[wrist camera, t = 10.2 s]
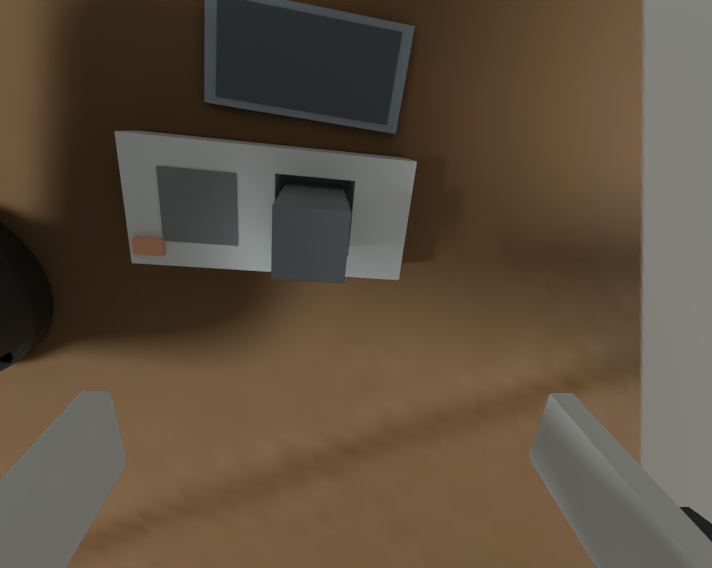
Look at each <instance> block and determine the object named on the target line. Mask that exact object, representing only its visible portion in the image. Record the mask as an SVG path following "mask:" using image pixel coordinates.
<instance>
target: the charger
mask: <svg viewBox="0 0 712 568" xmlns="http://www.w3.org/2000/svg"><path fill="white" fill-rule="evenodd" d="M350 220H351V210H350V207H349V204H348V201H347V198H346V195H345V192H344V189H343V186H342V185H333V184H322V183H311V182H300V181H289V180H288V181H287V183H286V184H285V186H284V187H283V189H282V191H281V192H280V194H279V195H278V197H277V198H276V200H275V202H274V203H273V205H272V248H271V279H279V280H295V281H312V282H328V283H344V282H345V272H346V261H347V251H348V241H349V230H350Z"/></svg>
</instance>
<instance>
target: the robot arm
mask: <svg viewBox="0 0 712 568" xmlns="http://www.w3.org/2000/svg"><path fill="white" fill-rule="evenodd" d="M51 318H52V297H51V292H50V288H49V285H48V282H47V280H46V277H45V275H44V273H43V271H42V269H41V267H40V266H39V264H38V263H37V261H36V260H35V258H34V257H33V255H32V254H31V253H30V252H29V250H28V249H27V248H26V247H25V246H24V245H23V244H22V243H21V242H20V241H19V240H18V239H17V238H16V237H15V236H14V235H13V234H12V233H11V232H9V231H8V230H7V229H6V228H4V227H3V226H2V225H0V371H2V370H4V369H6V368H8V367H9V366H11V365H13V364H14V363H16V362H17V361H18V360H19V359H21V358H22V357H23V356H25V355H26V354H27V353H29V352H30V351H31V350H33V349H34V348H35V347H36V346H37V345H38V344H39V343H40V342H41V341H42V339H43V338H44V336H45V335H46V333H47V331H48V328H49V326H50V323H51ZM529 460H530V461H531V463H532V464H533V466H534V468H535V469H536V471H537V473H538V474H539V476H540V477H541V479H542V481H543V482H544V484H545V485H546V487H547V489H548V490H549V492H550V493H551V495H552V497H553V498H554V500H555V502H556V503H557V505H558V506H559V508H560V510H561V511H562V513H563V514H564V516H565V518H566V519H567V521H568V522H569V524H570V526H571V527H572V529H573V531H574V532H575V534H576V535H577V537H578V539H579V540H580V542H581V543H582V545H583V547H584V548H585V550H586V551H587V553H588V555H589V556H590V558H591V560H592V561H593V563H594V564H595V566H596V568H712V524H711V523H710V522H709V521H707V520H706V519H704V518H703V517H702V516H700V515H699V514H698V513H696V512H695V511H693V510H692V509H691V508H689V507H678V505H677V504H676V503H675V502H674V501H673V500H672V499H671V498H670V497H669V496H668V495H667V494H666V493H665V492H664V491H663V489H662V488H661V487H660V486H659V485H658V484H657V483H656V482H655V481H654V480H653V479H652V478H651V477H650V476H649V474H648V473H647V472H646V471H645V470H644V469H643V468H642V467H641V466H640V465H639V464H638V463H637V462H636V461H635V460H634V458H633V457H632V456H631V455H630V454H629V453H628V452H627V451H626V450H625V449H624V448H623V447H622V446H621V445H620V444H619V442H618V441H617V440H616V439H615V438H614V437H613V436H612V435H611V434H610V433H609V432H608V431H607V430H606V429H605V427H604V426H603V425H602V424H601V423H600V422H599V421H598V420H597V419H596V418H595V417H594V416H593V415H592V414H591V413H590V411H589V410H588V409H587V408H586V407H585V406H584V405H583V404H582V403H581V402H580V401H579V400H578V399H577V398H576V397H575V395H574V394H573V393H550V394H549V397H548V400H547V403H546V406H545V409H544V413H543V416H542V419H541V422H540V425H539V428H538V431H537V434H536V437H535V440H534V443H533V446H532V449H531V452H530V455H529ZM125 465H126V460H125V456H124V451H123V447H122V442H121V437H120V433H119V428H118V424H117V419H116V414H115V410H114V405H113V401H112V396H111V392H110V391H81V392H80V393H79V394H78V395H77V396H76V398H75V399H74V400H73V401H72V402H71V403H70V404H69V405H68V406H67V407H66V408H65V410H64V411H63V412H62V413H61V414H60V415H59V416H58V417H57V418H56V419H55V420H54V422H53V423H52V424H51V425H50V426H49V427H48V428H47V429H46V430H45V431H44V433H43V434H42V435H41V436H40V437H39V438H38V439H37V440H36V441H35V442H34V443H33V445H32V446H31V447H30V448H29V449H28V450H27V451H26V452H25V453H24V454H23V456H22V457H21V458H20V459H19V460H18V461H17V462H16V463H15V464H14V465H13V466H12V468H11V469H10V470H9V471H8V472H7V473H6V474H5V475H4V476H3V477H2V478H1V480H0V568H66V566H67V565H68V563H69V561H70V559H71V558H72V556H73V554H74V553H75V551H76V549H77V547H78V546H79V544H80V542H81V541H82V539H83V537H84V535H85V534H86V532H87V530H88V529H89V527H90V525H91V523H92V522H93V520H94V518H95V517H96V515H97V513H98V511H99V510H100V508H101V506H102V505H103V503H104V501H105V500H106V498H107V496H108V494H109V493H110V491H111V489H112V488H113V486H114V484H115V482H116V481H117V479H118V477H119V476H120V474H121V472H122V470H123V469H124V467H125Z"/></svg>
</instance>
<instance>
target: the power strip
mask: <svg viewBox="0 0 712 568" xmlns="http://www.w3.org/2000/svg"><path fill="white" fill-rule="evenodd" d="M114 133H115V140H116V148H117V155H118V163H119V170H120V178H121V186H122V193H123V201H124V208H125V216H126V224H127V231H128V239H129V246H130V254H131V262H132V263H139V264H155V265H171V266H186V267H202V268H218V269H234V270H249V271H265V272H271V248H272V205H273V203H274V202H275V200H276V198H277V197H278V195H279V194H280V192H281V191H282V189H283V187H284V186H285V184H286V183H287V181H288V180H289V181H300V182H311V183H322V184H333V185H342V186H343V189H344V192H345V195H346V198H347V201H348V204H349V207H350V210H351V220H350V230H349V241H348V251H347V261H346V272H345V277H359V278H375V279H391V280H399V275H400V268H401V262H402V255H403V249H404V242H405V236H406V229H407V223H408V216H409V210H410V204H411V197H412V191H413V184H414V178H415V171H416V165H417V162H416V161H414V160H411V159H408V158H402V157H392V156H383V155H373V154H363V153H353V152H343V151H334V150H324V149H314V148H304V147H294V146H285V145H275V144H265V143H255V142H245V141H236V140H226V139H216V138H206V137H196V136H187V135H177V134H167V133H157V132H147V131H114Z"/></svg>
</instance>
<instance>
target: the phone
mask: <svg viewBox="0 0 712 568" xmlns="http://www.w3.org/2000/svg"><path fill="white" fill-rule="evenodd" d="M414 29H415V26H411V25H406V24H402V23H397V22H392V21H387V20H382V19H377V18H373V17H368V16H363V15H358V14H353V13H348V12H344V11H339V10H334V9H329V8H324V7H319V6H314V5H310V4H305V3H300V2H295V1H290V0H205V26H204V102H206V103H211V104H217V105H223V106H229V107H235V108H241V109H247V110H253V111H259V112H265V113H271V114H277V115H283V116H289V117H295V118H301V119H307V120H313V121H319V122H326V123H332V124H338V125H344V126H350V127H356V128H362V129H368V130H374V131H380V132H386V133H392V134H396V130H397V125H398V119H399V113H400V108H401V102H402V96H403V91H404V85H405V79H406V74H407V68H408V63H409V57H410V51H411V46H412V40H413V34H414Z"/></svg>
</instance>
